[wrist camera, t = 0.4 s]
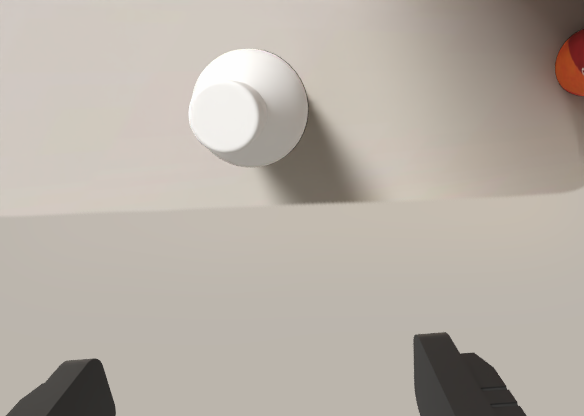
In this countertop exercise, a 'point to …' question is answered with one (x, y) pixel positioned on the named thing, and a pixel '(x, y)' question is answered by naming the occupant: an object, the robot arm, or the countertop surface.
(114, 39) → the countertop surface
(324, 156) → the countertop surface
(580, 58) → the paper cup
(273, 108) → the bath foam
